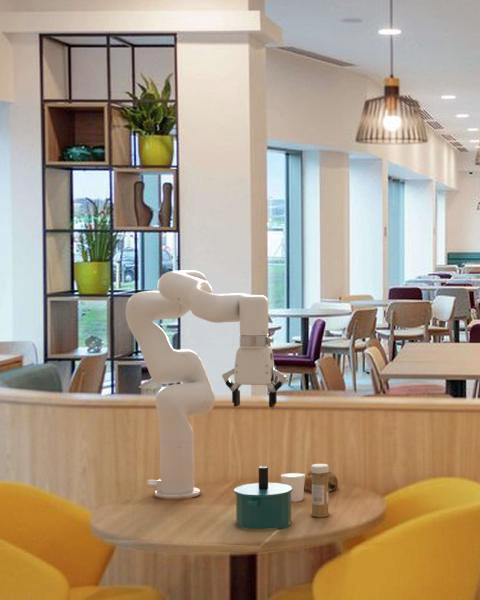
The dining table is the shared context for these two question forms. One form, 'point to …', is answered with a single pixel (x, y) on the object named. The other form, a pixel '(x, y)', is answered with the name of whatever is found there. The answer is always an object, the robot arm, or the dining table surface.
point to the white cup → (294, 484)
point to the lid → (263, 487)
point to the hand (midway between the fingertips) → (254, 406)
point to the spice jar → (320, 490)
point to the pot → (263, 512)
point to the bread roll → (331, 481)
